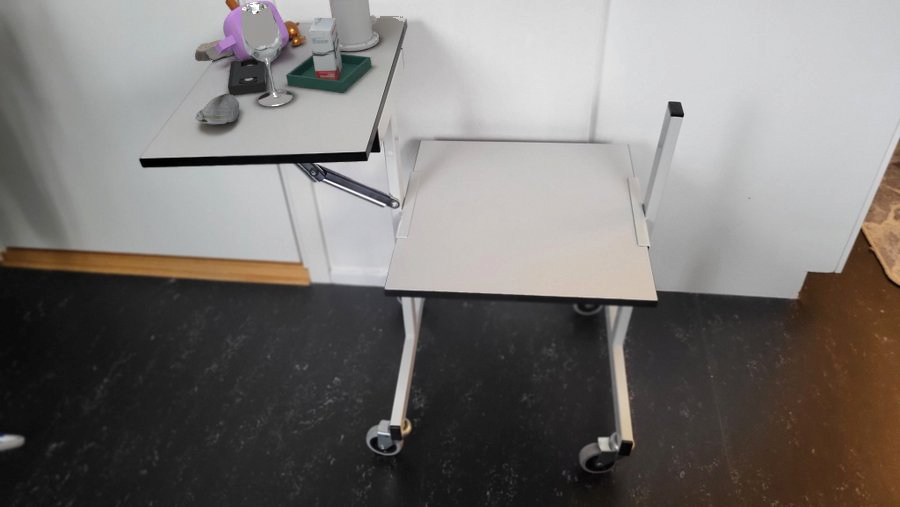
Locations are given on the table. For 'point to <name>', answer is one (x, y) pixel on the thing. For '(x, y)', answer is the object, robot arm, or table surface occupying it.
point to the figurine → (294, 32)
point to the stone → (210, 52)
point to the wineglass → (263, 45)
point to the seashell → (219, 110)
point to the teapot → (235, 32)
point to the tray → (348, 76)
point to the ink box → (325, 48)
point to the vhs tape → (247, 76)
